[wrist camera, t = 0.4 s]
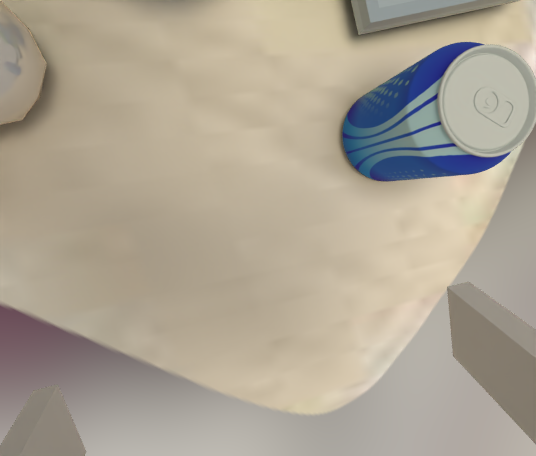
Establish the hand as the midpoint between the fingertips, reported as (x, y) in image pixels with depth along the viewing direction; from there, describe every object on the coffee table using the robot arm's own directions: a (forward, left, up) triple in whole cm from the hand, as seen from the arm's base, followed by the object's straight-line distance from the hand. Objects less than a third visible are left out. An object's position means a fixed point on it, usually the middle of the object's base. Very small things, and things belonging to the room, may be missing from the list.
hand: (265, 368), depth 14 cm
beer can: (-7, +17, -26) cm, 32 cm away
